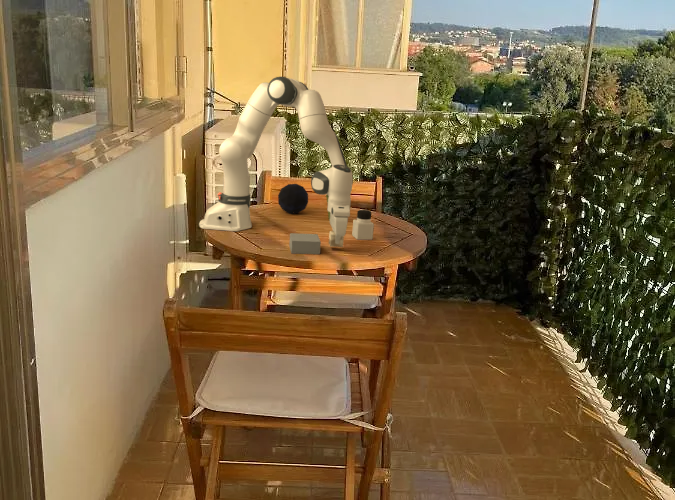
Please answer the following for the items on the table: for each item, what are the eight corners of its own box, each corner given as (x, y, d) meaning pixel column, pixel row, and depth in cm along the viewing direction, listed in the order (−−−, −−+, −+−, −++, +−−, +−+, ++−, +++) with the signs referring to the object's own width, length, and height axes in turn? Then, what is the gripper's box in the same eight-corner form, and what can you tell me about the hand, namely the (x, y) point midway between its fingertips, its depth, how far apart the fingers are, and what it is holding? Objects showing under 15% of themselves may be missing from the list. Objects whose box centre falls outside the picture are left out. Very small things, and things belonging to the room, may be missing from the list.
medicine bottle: (372, 239, 271) (375, 212, 267) (356, 239, 269) (359, 212, 265) (367, 235, 277) (369, 208, 274) (351, 235, 275) (354, 208, 272)
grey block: (291, 253, 243) (292, 240, 241) (289, 245, 253) (289, 233, 252) (319, 254, 245) (320, 241, 243) (316, 246, 255) (317, 234, 254)
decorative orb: (287, 196, 318) (281, 175, 306) (315, 200, 313) (309, 179, 301) (277, 217, 310) (270, 196, 298) (305, 222, 305) (299, 201, 294)
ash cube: (330, 246, 250) (331, 234, 248) (328, 243, 254) (329, 231, 253) (342, 247, 250) (343, 234, 249) (341, 243, 255) (342, 231, 254)
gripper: (327, 200, 257) (325, 233, 261) (334, 212, 238) (331, 248, 242) (342, 201, 258) (340, 234, 262) (350, 213, 239) (347, 248, 243)
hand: (335, 241), depth 252 cm, fingers closed on ash cube, 5 cm apart
